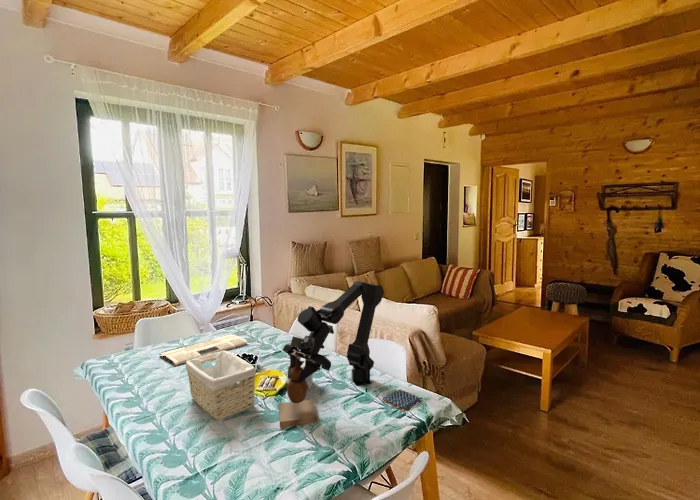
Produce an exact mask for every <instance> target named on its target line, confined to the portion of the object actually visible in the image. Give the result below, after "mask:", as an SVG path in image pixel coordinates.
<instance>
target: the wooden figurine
mask: <svg viewBox="0 0 700 500" xmlns="http://www.w3.org/2000/svg"><path fill="white" fill-rule="evenodd" d="M302 371H303V369H302V368H301V367H298V359H297V355H296V363H295V367H293V368H291V370H290V379H291V380H290V381H289V383H288V382H287V387H286V392H287V396H288V399H289V400H290V401H289V402H293V403H300V402H302V401H303V400H306V399H305V398H306V396H307V394H308V393H307V392H308V391H307V382H306V380H303V381H302V382H301V383H299V382H298V379H299V377H300V375H301V373H302Z"/></svg>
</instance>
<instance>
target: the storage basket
mask: <svg viewBox="0 0 700 500" xmlns="http://www.w3.org/2000/svg"><path fill="white" fill-rule="evenodd" d="M213 361H215V363H216V364H215V365H212V366H209V367H206V368H203V364H206V363H210V362H213ZM185 369H186V372H187V376H188V383H189V389H190V390H189V391H190V395H191V398H192V399H193V400H194V401H195V402H196V403H197V404H198V405H199V406H200V407H201V408H202V409H203V410H204V411H205V412H206V413H208V415H210V416H211V417H212V418H214V420H217V421H218V420H222V419H225V418H227V417H229V416H231V415H235V414H237V413H240V412H242V411H244V410H248V409H250V408H251V407H253V406H254V405H255V388H256V387H255V384H256V383H255V378H256V377H255V376H256V375H257V373H256V369H255V366H253V365H252V364H251V363H249V362H248V361H246V360H244V359H243V358H241V357H239V356H237V355H236V354H235V353H233V352H230V351H228V350H226V351H225V350H223V351H220V352H216V353H212V354H208V355H205V356H201V357H197V358H194V359H191V360H188V361H186V363H185Z"/></svg>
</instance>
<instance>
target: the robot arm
mask: <svg viewBox="0 0 700 500" xmlns="http://www.w3.org/2000/svg"><path fill="white" fill-rule="evenodd" d="M384 293H385V292H384V289H383V286H382V285H380V284H374V283H368V282H367V283H366V282H365V281H360V280H356V281H354V282H353V283H352V285H351V286H350V287H348V288H347V290H345V291H344V292H343V293H342V294H340V296H339V297H338V298H336V299H335V300H333V301H329V302H327V303H325V304H324V305H322V306H321V307H320V309H318V310H317V309H315V307H314V306H310V305H309V306H308V307H307V308H305V309H303V310H301V311H300V312H299V314H298V315H297V322H298V324H300V325H301V326H302V327H303V328H304V329H306V330H307V332H310V333H309V335H305V336H304V337H303V338H302V337H297V336H292V338H291V341H290V343H287V344H285V345H284V346H283V348H282V351H283V352H284V353H286V354H287V355H288V356H289V359H290V360H289V361H290V362H289V364H290V368H289V373H288V372H287V379H288V378H289V379H290V370H291V368H293V367H295V363H296V355H297V359H298V367H300V366H301V365H302V364H303V362H301V361H300V359H301V358H304V359H306V360H305V367H304V369H303V371H302V373H301V375H300V377H299V379H298V382H299V383H301V382H302V381H303V380H305V379H306V378H307V377H309V376H310V375H311V374H313V375H314V373H316V372H318V371H321V369H323V370H325V371H330V369H331V368H332V362H331V361H330V359H329V358H327V357H326V356H325V355H324V354H319V353H320V350H321V349H324V348H325V345H324V343H325V341H326V339H327V338H328V336H329V334H331V335H334V334H335V332H334V326H333V325H336V324H338V323H339V322H341V320H342V318H344V315H345V311H346V310H347V308H349V307H350V306H351V305H352V304H353V303H354V302H355V301H356V300H358V298H359V297H361V300H362V303H363V305H362V309H361V314H360V318H359V319H360V320H359V323H358V327H357V332H356V337H355V340H354V341H353V342H352V343H349V344H348V348H347V352H346V353H345V354H346V359H347V362H348V364H349V366H350V367H351V366H352V369H351V380H352V382H353V384H354V385H355V386H362V385H369V384H372V381H371V370H372V368H374V364H375V361H374V360H373V359H372V358H371V357H370V354H371V352H370V351H371V350H370V347H369V344H368V343H369V338H370V335H371V334H370V333H371V329H372V326H373V320H374V315H375V312H376V308H377V307H378V305H380V304H381V302H382V299H383V297H384ZM328 323H329V324H328ZM330 324H332V325H330ZM309 357H310V358H309Z"/></svg>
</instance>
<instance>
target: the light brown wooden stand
mask: <svg viewBox="0 0 700 500" xmlns="http://www.w3.org/2000/svg"><path fill="white" fill-rule="evenodd" d="M314 401H315V400H314V398H313V399H304V400H303V401H302V402H300V403H293V402H291V401H288V402H280V403H277V406H278V419H279V420H278V421H279V428H280V429H281V428H282V429H283V428H290V427H298V426H304V425H305V426H306V425H312V424H318V423H319V419H318V418H319V417H318V412H317V409H316V406H315V402H314Z"/></svg>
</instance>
